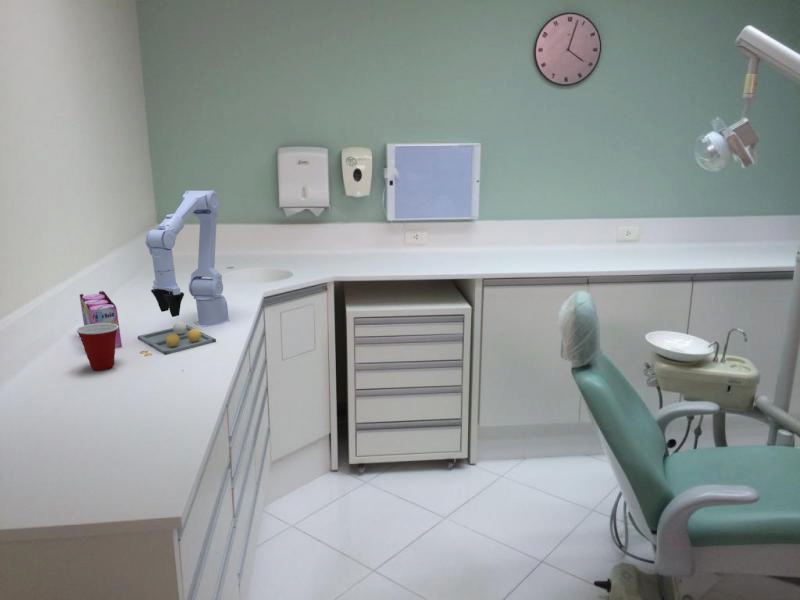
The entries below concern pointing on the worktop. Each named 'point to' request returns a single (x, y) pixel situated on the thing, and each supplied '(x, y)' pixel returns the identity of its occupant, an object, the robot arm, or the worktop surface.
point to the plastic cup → (99, 344)
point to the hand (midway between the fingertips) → (170, 313)
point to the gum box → (100, 312)
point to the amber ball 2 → (194, 335)
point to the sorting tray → (159, 342)
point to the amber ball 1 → (172, 340)
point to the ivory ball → (179, 328)
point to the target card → (146, 354)
